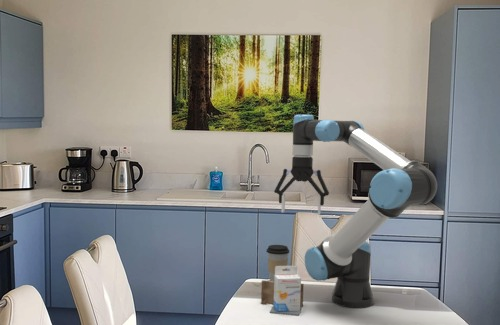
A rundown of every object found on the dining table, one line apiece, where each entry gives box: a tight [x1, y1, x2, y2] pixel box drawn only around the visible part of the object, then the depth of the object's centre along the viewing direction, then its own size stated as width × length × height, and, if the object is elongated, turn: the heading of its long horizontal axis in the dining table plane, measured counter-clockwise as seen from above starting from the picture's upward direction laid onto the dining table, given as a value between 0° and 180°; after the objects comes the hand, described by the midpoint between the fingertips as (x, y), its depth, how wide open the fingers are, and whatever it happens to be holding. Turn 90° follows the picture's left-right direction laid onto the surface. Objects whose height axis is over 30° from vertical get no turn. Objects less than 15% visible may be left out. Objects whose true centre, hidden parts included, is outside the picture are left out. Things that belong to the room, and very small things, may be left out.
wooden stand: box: [260, 279, 305, 308], centre depth 195 cm, size 15×4×8 cm, turn 77°
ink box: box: [272, 265, 302, 312], centre depth 188 cm, size 8×5×15 cm, turn 102°
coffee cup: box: [265, 244, 290, 281], centre depth 221 cm, size 9×9×15 cm
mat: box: [269, 306, 303, 317], centre depth 188 cm, size 10×8×1 cm
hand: (300, 213), depth 202 cm, fingers open, 13 cm apart
